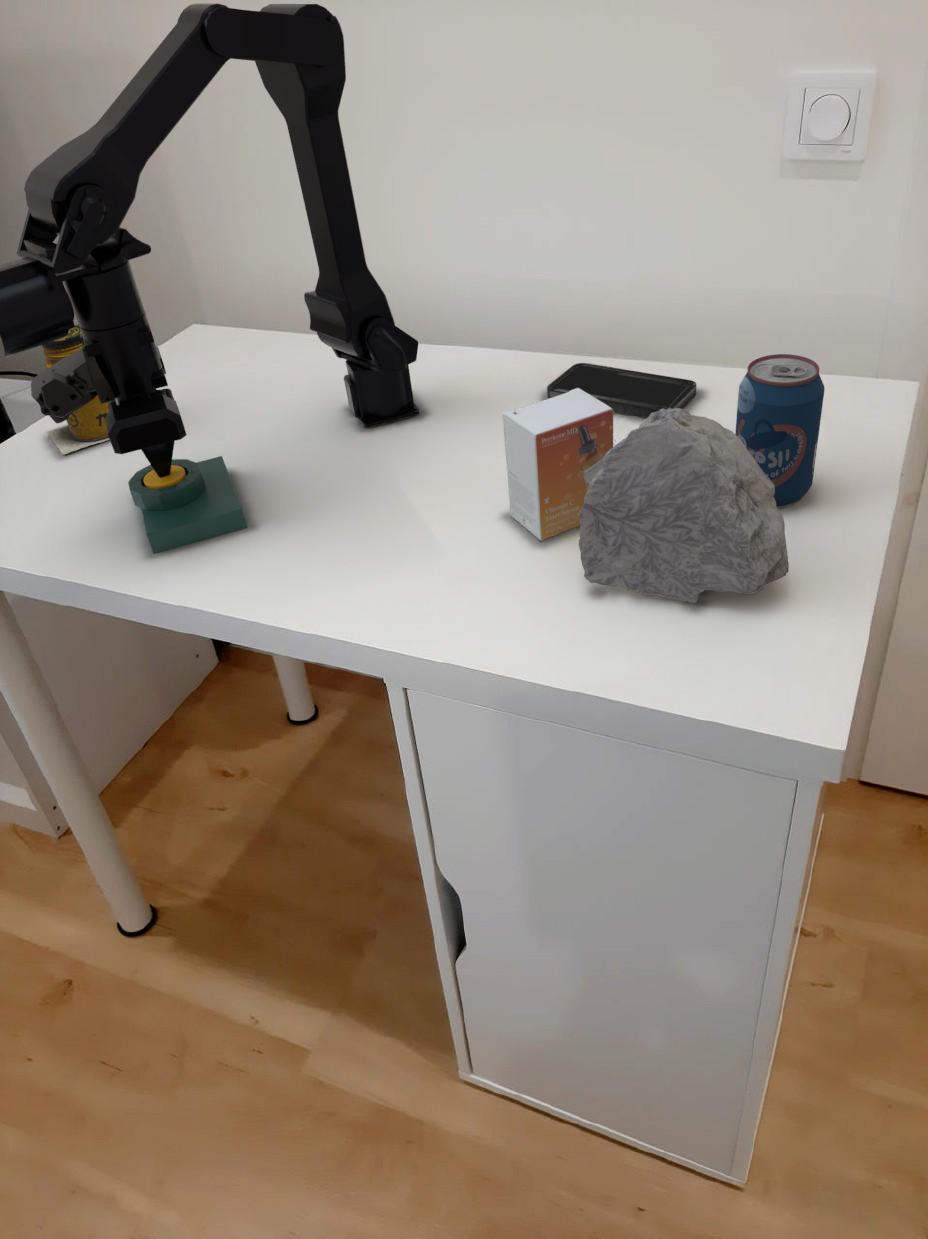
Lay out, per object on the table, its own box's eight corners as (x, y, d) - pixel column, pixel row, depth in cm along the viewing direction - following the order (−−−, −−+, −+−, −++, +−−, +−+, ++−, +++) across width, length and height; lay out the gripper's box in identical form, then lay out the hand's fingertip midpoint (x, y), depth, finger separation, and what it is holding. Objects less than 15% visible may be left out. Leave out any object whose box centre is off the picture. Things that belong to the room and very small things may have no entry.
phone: (669, 412, 100) (543, 388, 107) (668, 422, 101) (543, 398, 108) (700, 381, 105) (578, 361, 112) (699, 391, 106) (578, 370, 113)
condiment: (135, 431, 113) (101, 331, 106) (63, 456, 110) (23, 354, 102) (116, 411, 118) (83, 314, 111) (47, 434, 115) (7, 336, 107)
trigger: (186, 476, 98) (181, 461, 97) (192, 494, 95) (187, 478, 93) (146, 487, 97) (141, 471, 96) (150, 505, 94) (145, 489, 93)
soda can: (725, 508, 87) (734, 383, 80) (736, 470, 92) (745, 349, 85) (807, 516, 85) (824, 388, 77) (813, 476, 90) (830, 352, 82)
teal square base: (227, 474, 102) (217, 440, 100) (247, 528, 93) (237, 492, 91) (136, 498, 100) (124, 463, 98) (148, 555, 91) (135, 519, 89)
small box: (540, 543, 86) (533, 435, 79) (509, 516, 90) (499, 411, 83) (616, 514, 88) (615, 407, 82) (582, 489, 92) (578, 385, 86)
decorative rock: (571, 590, 80) (563, 424, 71) (594, 546, 84) (589, 385, 75) (777, 622, 74) (798, 445, 65) (790, 572, 79) (811, 401, 69)
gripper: (17, 307, 90) (75, 456, 100) (17, 378, 76) (85, 544, 86) (137, 281, 93) (183, 429, 102) (159, 345, 79) (210, 510, 88)
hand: (164, 474), depth 95 cm, fingers closed, pressing on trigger
